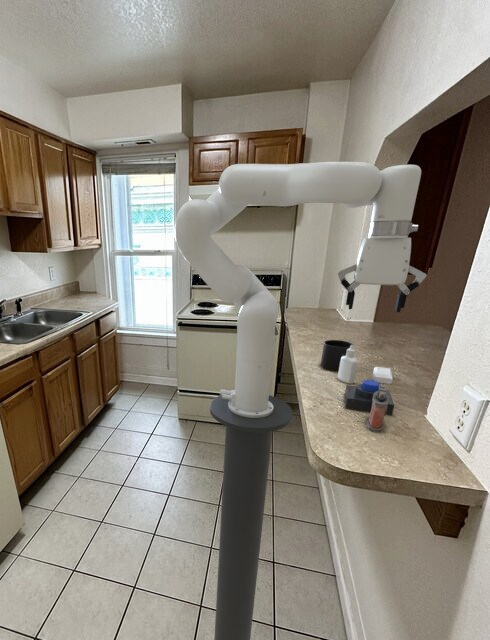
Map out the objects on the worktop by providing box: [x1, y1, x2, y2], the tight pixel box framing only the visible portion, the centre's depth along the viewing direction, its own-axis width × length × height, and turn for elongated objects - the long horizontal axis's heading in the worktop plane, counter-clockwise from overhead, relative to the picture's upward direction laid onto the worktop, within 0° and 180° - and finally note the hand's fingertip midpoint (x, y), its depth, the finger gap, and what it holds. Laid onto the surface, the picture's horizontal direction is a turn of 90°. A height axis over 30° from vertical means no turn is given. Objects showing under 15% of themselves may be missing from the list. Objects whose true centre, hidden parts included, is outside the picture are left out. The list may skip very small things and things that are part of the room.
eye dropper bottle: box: [337, 344, 359, 385], centre depth 113 cm, size 4×6×12 cm
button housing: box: [344, 383, 395, 416], centre depth 98 cm, size 11×10×5 cm
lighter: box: [366, 383, 389, 433], centre depth 87 cm, size 8×3×10 cm, turn 151°
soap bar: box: [372, 366, 394, 385], centre depth 117 cm, size 5×9×3 cm, turn 152°
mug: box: [320, 339, 354, 373], centre depth 124 cm, size 9×12×9 cm
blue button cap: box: [361, 379, 381, 392], centre depth 97 cm, size 4×4×2 cm
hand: (373, 309), depth 82 cm, fingers open, 9 cm apart
